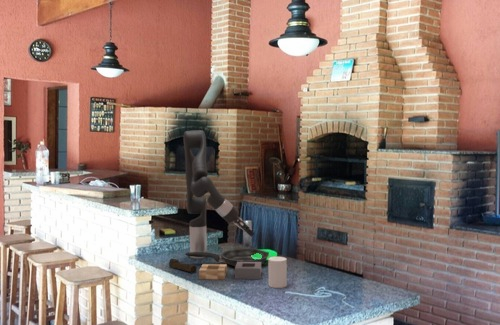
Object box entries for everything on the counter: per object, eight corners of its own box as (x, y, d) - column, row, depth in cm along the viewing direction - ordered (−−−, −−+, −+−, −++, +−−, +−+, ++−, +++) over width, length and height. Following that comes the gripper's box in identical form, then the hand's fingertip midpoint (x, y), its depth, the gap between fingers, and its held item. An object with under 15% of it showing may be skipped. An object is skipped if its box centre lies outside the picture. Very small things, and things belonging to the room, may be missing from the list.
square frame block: (202, 271, 249) (202, 264, 249) (226, 272, 249) (226, 264, 248) (198, 279, 237) (198, 270, 237) (224, 279, 237) (224, 270, 236)
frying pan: (266, 256, 279) (266, 244, 278) (271, 269, 254) (271, 255, 253) (186, 259, 275) (186, 246, 275) (184, 271, 250) (184, 258, 250)
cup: (288, 283, 230) (288, 257, 229) (283, 288, 222) (283, 261, 221) (271, 281, 232) (271, 256, 232) (266, 287, 225) (266, 260, 224)
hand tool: (197, 272, 249) (197, 263, 249) (191, 274, 246) (190, 265, 246) (173, 265, 262) (173, 257, 262) (167, 267, 259) (167, 258, 259)
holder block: (237, 271, 249) (237, 261, 249) (261, 271, 249) (261, 261, 248) (235, 278, 237) (235, 268, 237) (260, 279, 237) (260, 268, 236)
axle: (243, 244, 244) (243, 220, 243) (251, 244, 244) (251, 220, 243) (243, 246, 240) (242, 221, 239) (251, 246, 240) (251, 221, 239)
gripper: (235, 206, 232) (261, 231, 236) (228, 202, 245) (252, 225, 250) (224, 218, 231) (250, 243, 235) (217, 213, 244) (242, 237, 248)
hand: (251, 234), depth 242 cm, fingers closed on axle, 4 cm apart
